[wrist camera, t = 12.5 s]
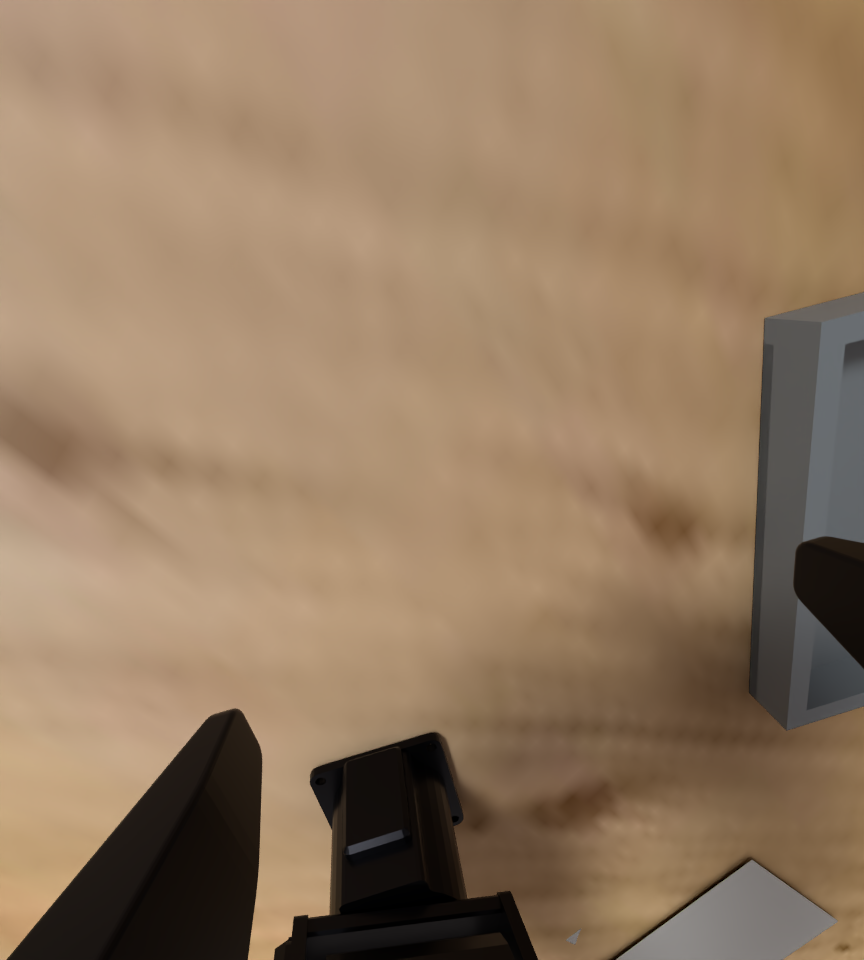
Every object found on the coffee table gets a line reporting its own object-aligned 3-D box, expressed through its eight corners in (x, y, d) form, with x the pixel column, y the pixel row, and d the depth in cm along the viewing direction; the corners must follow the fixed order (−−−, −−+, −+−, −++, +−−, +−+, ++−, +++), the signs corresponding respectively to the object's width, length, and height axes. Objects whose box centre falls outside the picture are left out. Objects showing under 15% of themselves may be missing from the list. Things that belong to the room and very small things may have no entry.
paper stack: (473, 949, 32) (475, 962, 32) (779, 707, 28) (789, 717, 28) (664, 1025, 41) (669, 1037, 40) (921, 847, 37) (931, 857, 36)
